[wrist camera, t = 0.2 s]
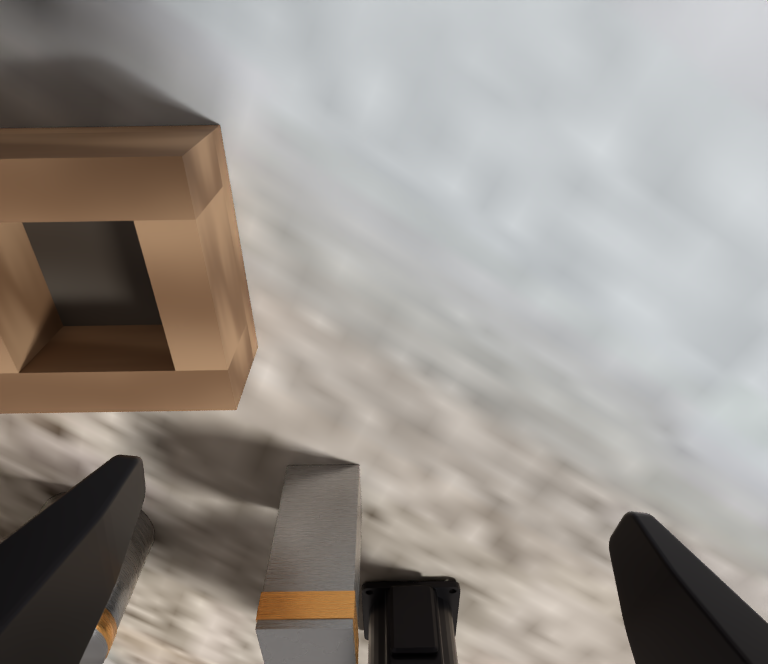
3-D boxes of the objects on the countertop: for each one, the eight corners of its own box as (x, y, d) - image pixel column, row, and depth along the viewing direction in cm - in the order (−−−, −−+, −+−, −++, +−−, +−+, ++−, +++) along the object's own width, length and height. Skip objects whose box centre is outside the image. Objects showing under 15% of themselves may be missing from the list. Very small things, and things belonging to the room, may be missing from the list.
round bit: (167, 559, 34) (122, 678, 28) (62, 561, 34) (-4, 680, 28) (139, 487, 30) (82, 607, 24) (22, 489, 30) (-63, 609, 24)
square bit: (362, 512, 32) (357, 676, 24) (294, 513, 32) (267, 677, 24) (360, 464, 29) (353, 627, 22) (286, 465, 29) (253, 628, 22)
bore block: (258, 347, 25) (236, 410, 21) (47, 350, 25) (-12, 413, 21) (220, 124, 20) (182, 156, 16) (-49, 129, 20) (-150, 161, 16)
